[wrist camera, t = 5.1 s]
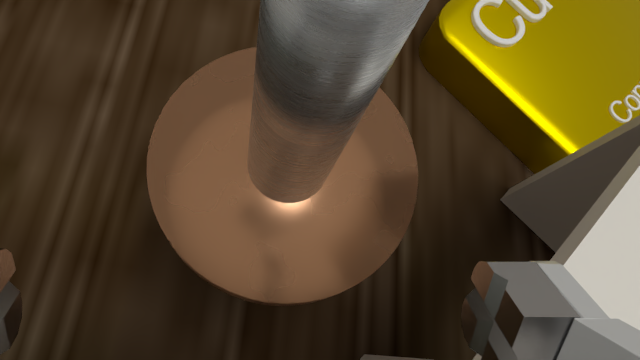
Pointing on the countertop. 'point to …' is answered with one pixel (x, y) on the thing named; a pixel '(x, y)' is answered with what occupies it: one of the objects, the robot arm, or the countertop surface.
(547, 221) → the slotted white pedestal
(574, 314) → the robot arm
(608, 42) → the element tile
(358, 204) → the peg
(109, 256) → the countertop surface
